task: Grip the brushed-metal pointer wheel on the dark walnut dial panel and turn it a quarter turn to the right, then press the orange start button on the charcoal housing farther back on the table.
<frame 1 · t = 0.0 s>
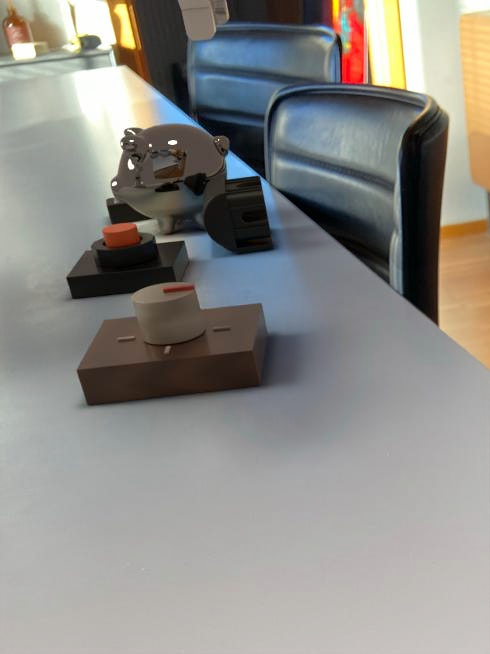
hand: (210, 31, 70), 25 cm above the table, tool pointing down, fingers open, 8 cm apart
piggy bank: (184, 227, 128), on the table
start button: (121, 236, 108), point 4 cm above the table, slide at 0.1 cm
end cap: (241, 244, 119), on the table
dial knob: (168, 311, 85), point 5 cm above the table, hinge at 0.0°
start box: (133, 278, 110), on the table
multiport hub: (154, 215, 134), on the table
dial panel: (183, 368, 88), on the table
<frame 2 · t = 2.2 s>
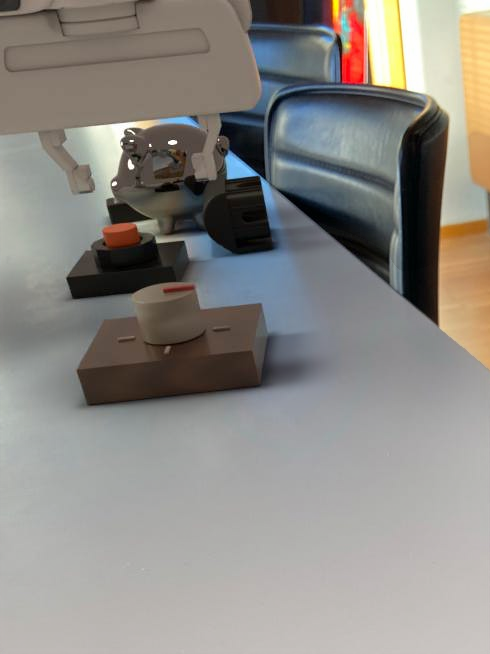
hand: (145, 186, 79), 15 cm above the table, tool pointing down, fingers open, 8 cm apart
nothing on the table moved.
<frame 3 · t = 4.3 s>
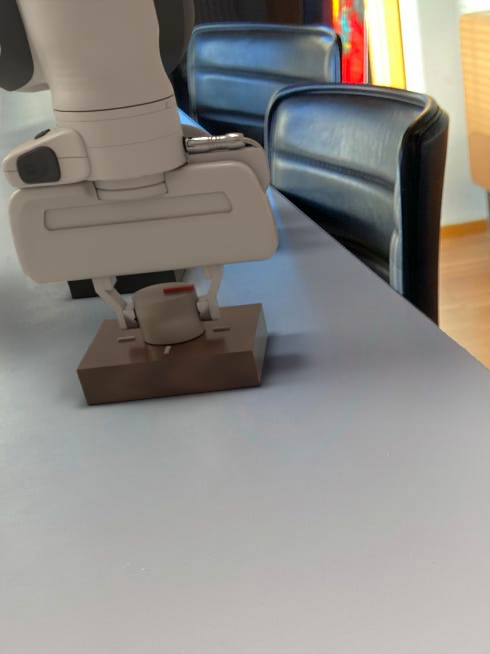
hand: (171, 323, 85), 4 cm above the table, tool pointing down, fingers closed on dial knob, 5 cm apart
dial knob: (168, 311, 85), point 5 cm above the table, hinge at -0.4°, touching gripper
everything else where it was.
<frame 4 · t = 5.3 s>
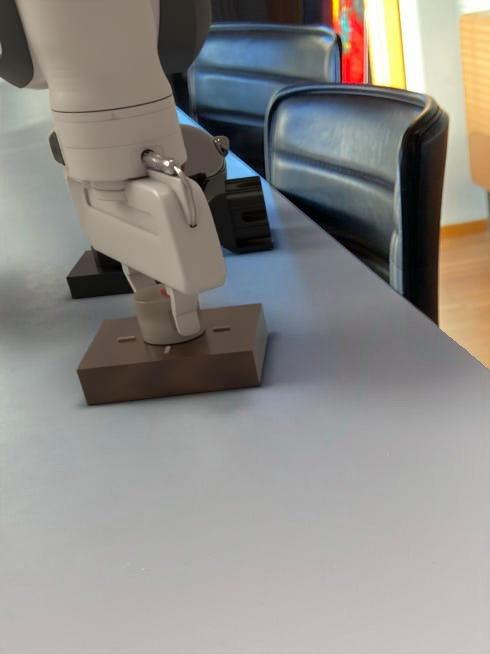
hand: (170, 323, 85), 4 cm above the table, tool pointing down, fingers closed on dial knob, 5 cm apart
dial knob: (168, 311, 85), point 5 cm above the table, hinge at -59.6°, touching gripper
everything else where it was.
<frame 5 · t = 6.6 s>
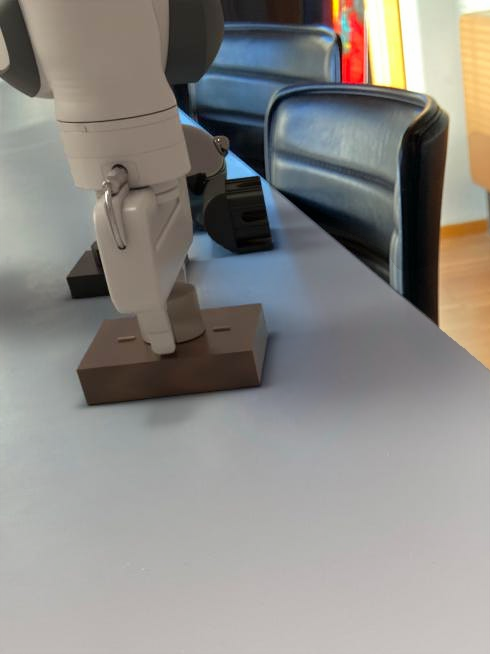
hand: (173, 331, 86), 3 cm above the table, tool pointing down, fingers open, 8 cm apart
dial knob: (168, 311, 85), point 5 cm above the table, hinge at -93.7°
everything else where it was.
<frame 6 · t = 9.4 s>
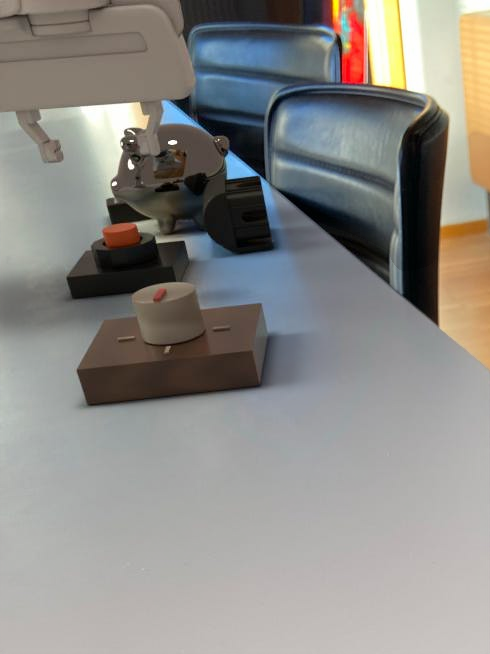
hand: (102, 158, 97), 13 cm above the table, tool pointing down, fingers open, 8 cm apart
nothing on the table moved.
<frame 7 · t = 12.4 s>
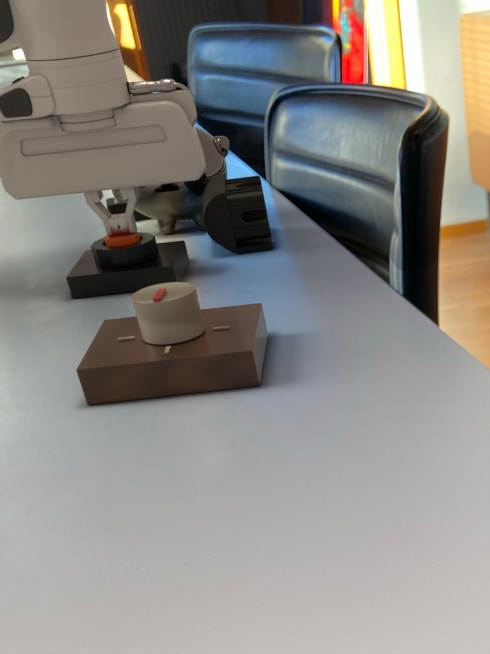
hand: (122, 233, 108), 5 cm above the table, tool pointing down, fingers closed, pressing on start button
start button: (123, 243, 108), point 4 cm above the table, slide at -0.6 cm, touching gripper
everything else where it was.
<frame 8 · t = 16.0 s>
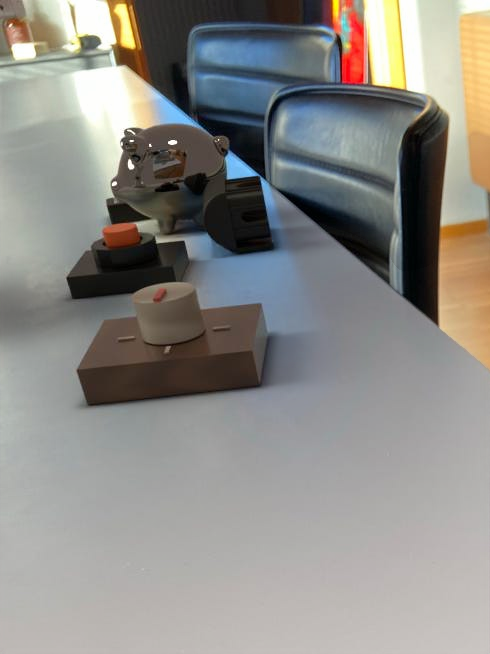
hand: (8, 18, 90), 25 cm above the table, tool pointing down, fingers closed
start button: (121, 236, 108), point 4 cm above the table, slide at 0.1 cm
everything else where it was.
at the end: dial knob at -94° (first picture: +0°); start button pushed in 1.1 cm at the most during the clip, back to where it started at the end; start button slide at 0.1 cm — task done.
